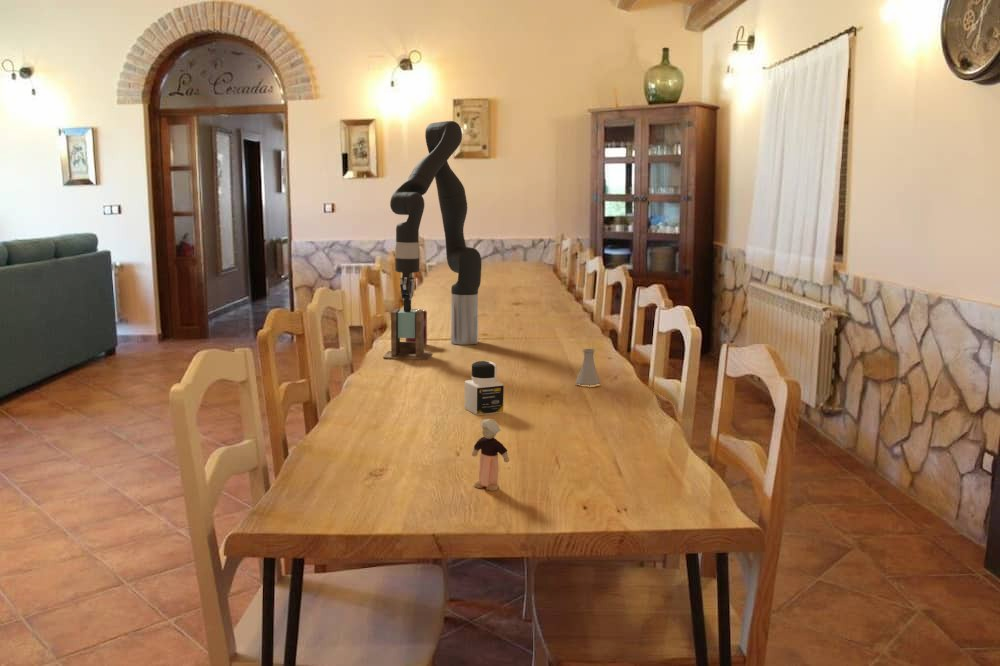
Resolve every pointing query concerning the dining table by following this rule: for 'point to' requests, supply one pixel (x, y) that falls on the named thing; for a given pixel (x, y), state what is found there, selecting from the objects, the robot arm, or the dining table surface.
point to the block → (407, 324)
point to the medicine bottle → (484, 390)
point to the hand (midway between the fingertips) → (407, 311)
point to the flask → (588, 370)
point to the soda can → (424, 329)
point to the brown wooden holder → (407, 348)
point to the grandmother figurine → (489, 455)
